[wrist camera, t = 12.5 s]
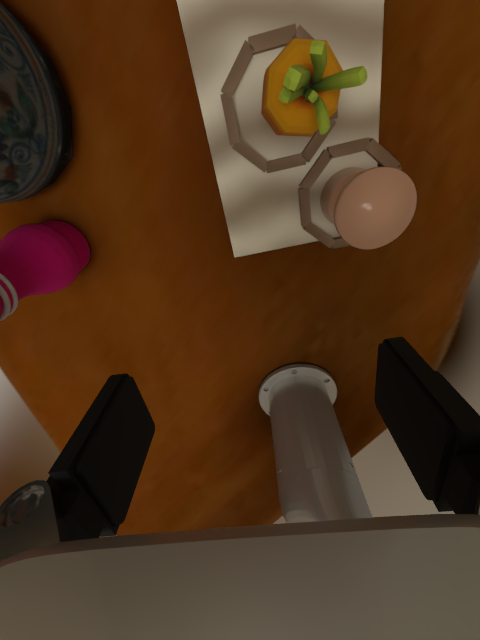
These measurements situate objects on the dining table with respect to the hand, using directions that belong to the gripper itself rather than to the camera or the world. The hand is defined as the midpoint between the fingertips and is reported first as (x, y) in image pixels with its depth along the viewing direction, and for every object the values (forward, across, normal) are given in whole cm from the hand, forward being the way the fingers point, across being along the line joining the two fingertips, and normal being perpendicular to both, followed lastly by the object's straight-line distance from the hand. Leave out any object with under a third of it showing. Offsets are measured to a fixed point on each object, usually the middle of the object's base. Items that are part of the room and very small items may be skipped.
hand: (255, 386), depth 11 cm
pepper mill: (+26, +22, -3) cm, 34 cm away
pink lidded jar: (+24, -11, -3) cm, 27 cm away
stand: (+25, -7, -9) cm, 28 cm away
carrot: (+24, -5, -11) cm, 27 cm away
